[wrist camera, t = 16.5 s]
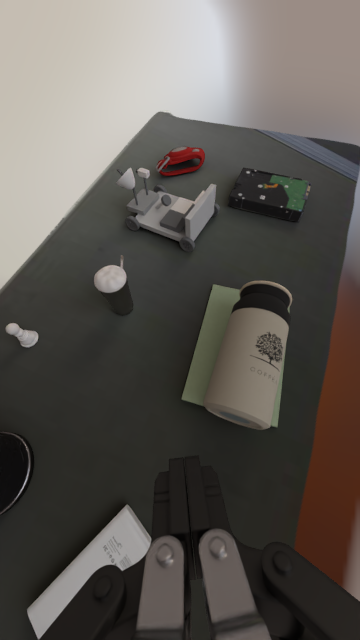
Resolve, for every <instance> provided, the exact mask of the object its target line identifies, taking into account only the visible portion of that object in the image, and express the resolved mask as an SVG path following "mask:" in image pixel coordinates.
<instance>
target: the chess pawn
mask: <svg viewBox="0 0 360 640" xmlns="http://www.w3.org/2000/svg"><path fill="white" fill-rule="evenodd" d="M6 332H7V333H8V334H11V335H14V336H16V337H18V340H19V341H20V343H21V345H22V346H23V347H31V346H33V345H34V344H35V343H36V342H37V340H38V334H37V333H36V332H35V331H27V330H22V329H21V328H20V327H19V326H18V325H17V324H15V323H10V324H8V325H7V326H6Z"/></svg>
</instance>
